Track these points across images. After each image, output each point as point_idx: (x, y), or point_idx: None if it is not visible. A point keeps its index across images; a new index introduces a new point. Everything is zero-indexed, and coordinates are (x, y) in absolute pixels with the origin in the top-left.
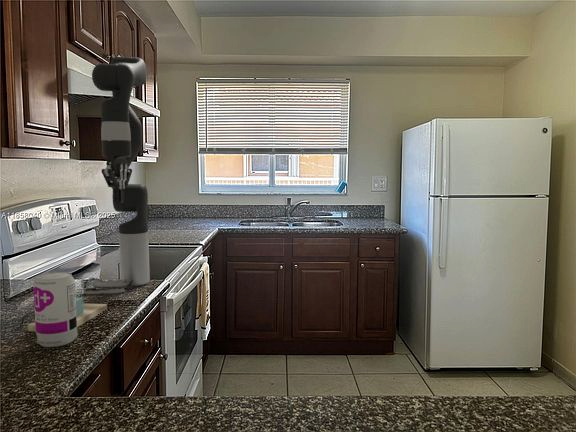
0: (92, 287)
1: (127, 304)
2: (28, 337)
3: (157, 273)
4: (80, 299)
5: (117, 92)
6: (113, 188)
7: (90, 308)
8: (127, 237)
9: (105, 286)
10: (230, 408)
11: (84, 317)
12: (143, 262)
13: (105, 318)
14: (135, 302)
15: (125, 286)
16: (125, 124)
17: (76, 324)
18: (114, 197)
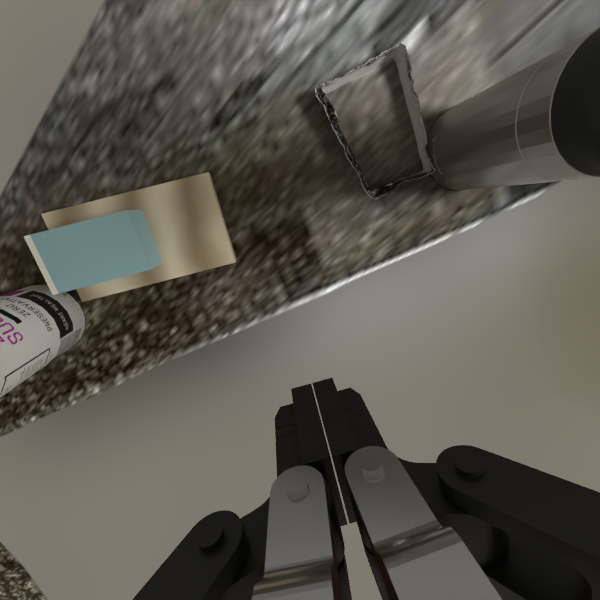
0: (376, 64)
1: (286, 273)
2: None
3: None
4: (140, 271)
5: None
6: (267, 507)
7: (194, 251)
8: (536, 124)
9: (403, 91)
10: None
11: (145, 285)
12: (490, 184)
13: (190, 300)
14: (306, 279)
15: (380, 189)
16: None
17: (59, 355)
18: (278, 432)
